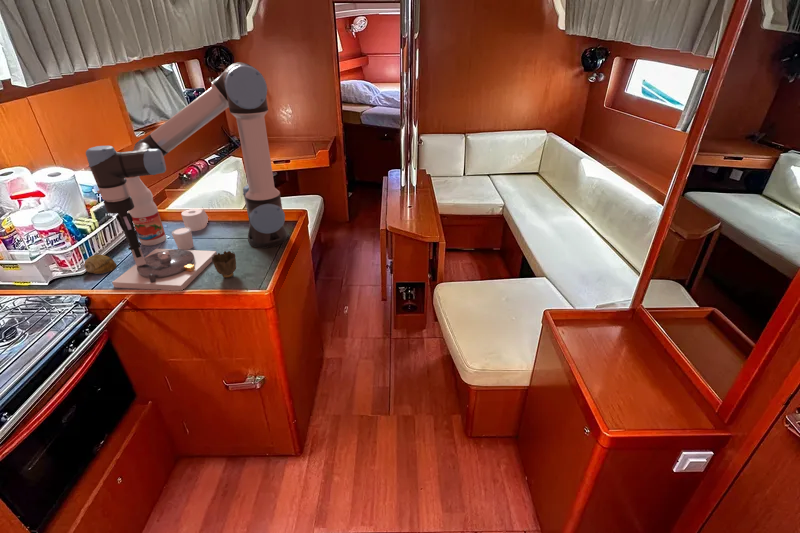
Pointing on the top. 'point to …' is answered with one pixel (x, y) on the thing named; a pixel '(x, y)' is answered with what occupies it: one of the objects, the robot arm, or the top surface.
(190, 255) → the flange plate
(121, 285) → the base plate
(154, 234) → the fruit juice
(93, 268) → the seashell
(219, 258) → the cup
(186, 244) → the pale pink cylinder
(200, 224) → the toilet paper
